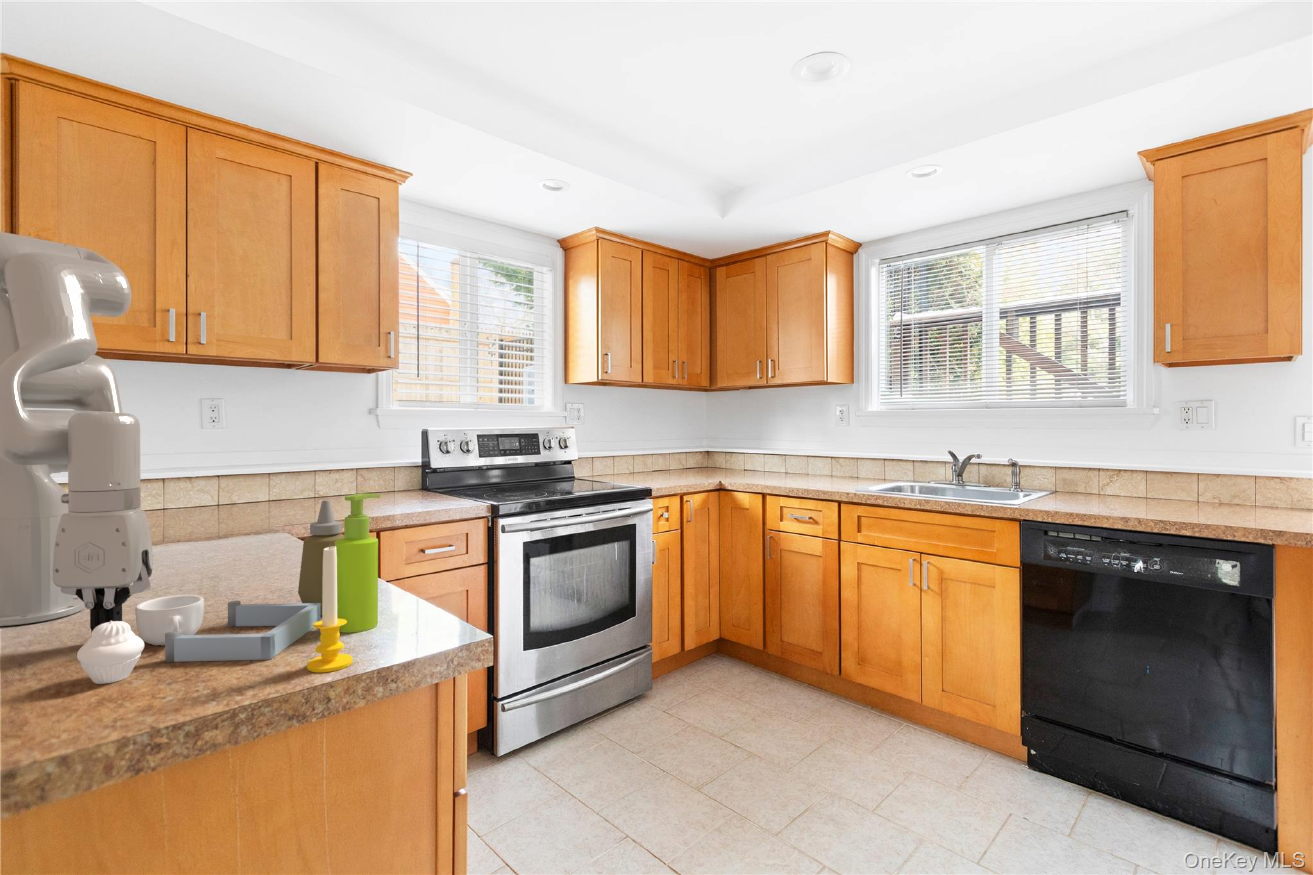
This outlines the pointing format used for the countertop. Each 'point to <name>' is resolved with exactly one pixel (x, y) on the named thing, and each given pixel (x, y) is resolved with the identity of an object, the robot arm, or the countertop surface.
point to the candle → (329, 621)
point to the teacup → (169, 617)
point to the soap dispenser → (357, 570)
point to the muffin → (110, 652)
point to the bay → (288, 629)
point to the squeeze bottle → (317, 554)
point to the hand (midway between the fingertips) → (106, 634)
